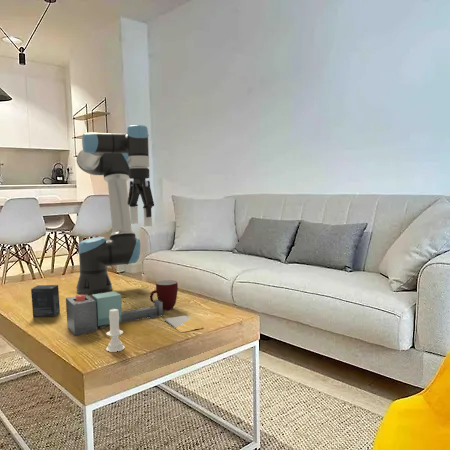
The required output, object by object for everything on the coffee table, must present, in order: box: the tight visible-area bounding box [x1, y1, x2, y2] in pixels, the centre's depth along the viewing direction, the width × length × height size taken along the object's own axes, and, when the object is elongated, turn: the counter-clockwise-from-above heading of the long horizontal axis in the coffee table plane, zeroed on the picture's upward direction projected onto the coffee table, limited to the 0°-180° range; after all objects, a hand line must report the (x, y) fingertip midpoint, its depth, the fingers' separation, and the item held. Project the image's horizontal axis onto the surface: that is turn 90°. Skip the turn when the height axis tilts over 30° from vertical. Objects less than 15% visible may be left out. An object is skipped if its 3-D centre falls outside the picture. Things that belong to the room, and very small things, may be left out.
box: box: [30, 284, 61, 318], centre depth 160 cm, size 8×6×11 cm
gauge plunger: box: [75, 294, 86, 302], centre depth 143 cm, size 3×3×4 cm
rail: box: [97, 299, 164, 330], centre depth 152 cm, size 6×24×5 cm, turn 123°
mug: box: [149, 279, 179, 311], centre depth 164 cm, size 11×8×10 cm
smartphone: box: [163, 314, 191, 328], centre depth 147 cm, size 8×1×15 cm
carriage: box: [91, 290, 123, 326], centre depth 148 cm, size 6×8×9 cm
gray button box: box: [65, 294, 98, 336], centre depth 143 cm, size 10×7×10 cm
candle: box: [105, 309, 126, 353], centre depth 126 cm, size 5×5×12 cm
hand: (141, 224), depth 165 cm, fingers open, 13 cm apart
